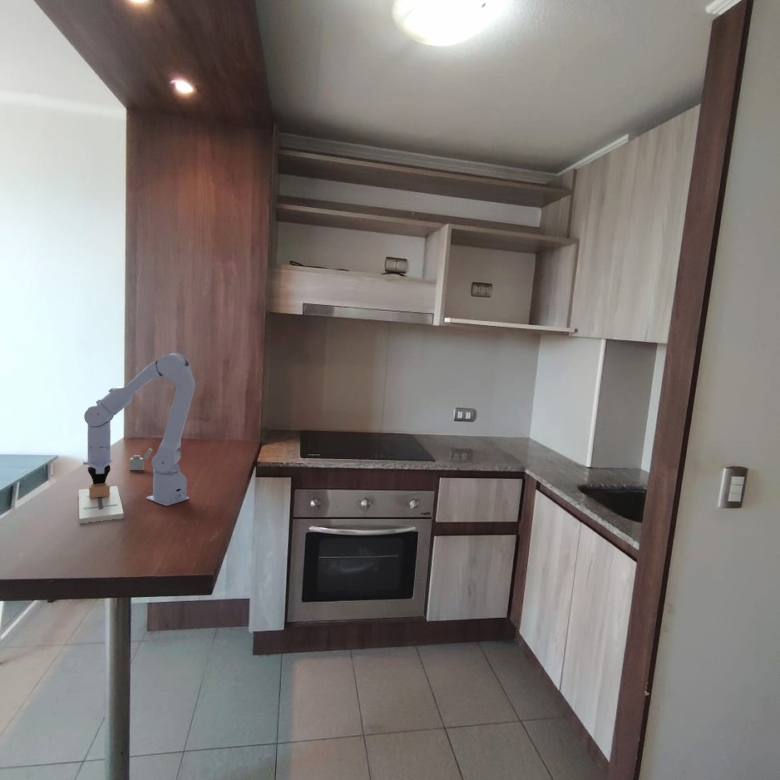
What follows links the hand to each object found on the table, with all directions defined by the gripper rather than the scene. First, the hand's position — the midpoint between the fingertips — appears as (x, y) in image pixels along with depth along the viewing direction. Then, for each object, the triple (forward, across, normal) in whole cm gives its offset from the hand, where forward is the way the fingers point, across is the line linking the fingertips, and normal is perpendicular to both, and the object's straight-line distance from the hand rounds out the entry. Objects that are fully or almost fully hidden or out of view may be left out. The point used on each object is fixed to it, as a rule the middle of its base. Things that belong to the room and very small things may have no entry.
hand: (99, 490), depth 143 cm
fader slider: (0, +3, 0) cm, 3 cm away
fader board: (+2, +6, 0) cm, 7 cm away
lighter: (+3, -25, +14) cm, 29 cm away
